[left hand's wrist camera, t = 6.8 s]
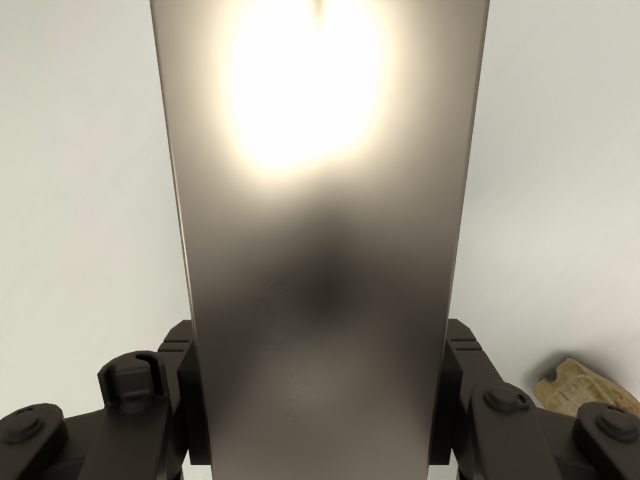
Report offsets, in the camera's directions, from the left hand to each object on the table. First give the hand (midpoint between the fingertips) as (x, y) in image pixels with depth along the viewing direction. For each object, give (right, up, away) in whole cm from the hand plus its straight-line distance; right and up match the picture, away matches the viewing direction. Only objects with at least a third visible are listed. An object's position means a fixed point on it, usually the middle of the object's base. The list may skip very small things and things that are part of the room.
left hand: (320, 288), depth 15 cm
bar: (0, +8, -2) cm, 9 cm away
